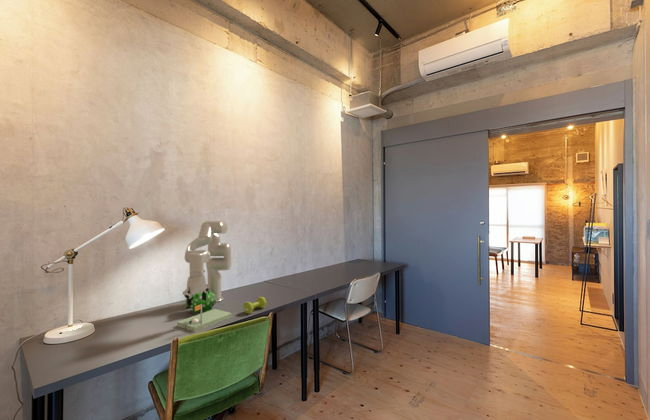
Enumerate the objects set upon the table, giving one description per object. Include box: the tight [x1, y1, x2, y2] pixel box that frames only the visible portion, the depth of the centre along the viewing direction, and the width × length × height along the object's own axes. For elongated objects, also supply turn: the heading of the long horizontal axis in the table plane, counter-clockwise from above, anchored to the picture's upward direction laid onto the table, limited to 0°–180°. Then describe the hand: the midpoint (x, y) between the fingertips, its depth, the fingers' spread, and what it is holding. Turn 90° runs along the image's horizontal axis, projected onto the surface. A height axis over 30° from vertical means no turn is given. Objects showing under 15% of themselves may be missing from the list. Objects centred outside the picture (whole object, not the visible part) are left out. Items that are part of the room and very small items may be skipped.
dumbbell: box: [242, 296, 268, 315], centre depth 198 cm, size 16×8×7 cm, turn 149°
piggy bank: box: [185, 291, 216, 315], centre depth 196 cm, size 14×18×15 cm
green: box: [176, 304, 233, 333], centre depth 178 cm, size 16×26×14 cm, turn 149°
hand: (197, 302), depth 173 cm, fingers open, 9 cm apart
